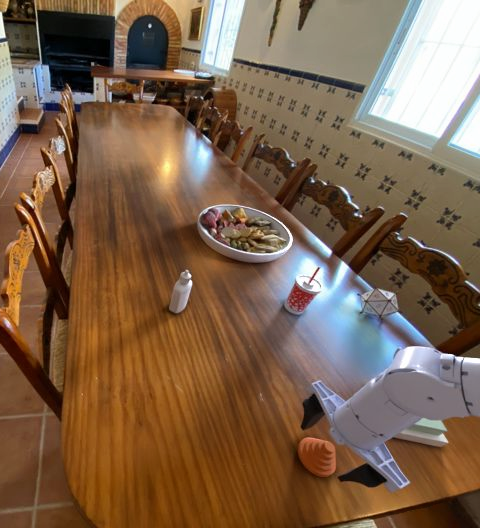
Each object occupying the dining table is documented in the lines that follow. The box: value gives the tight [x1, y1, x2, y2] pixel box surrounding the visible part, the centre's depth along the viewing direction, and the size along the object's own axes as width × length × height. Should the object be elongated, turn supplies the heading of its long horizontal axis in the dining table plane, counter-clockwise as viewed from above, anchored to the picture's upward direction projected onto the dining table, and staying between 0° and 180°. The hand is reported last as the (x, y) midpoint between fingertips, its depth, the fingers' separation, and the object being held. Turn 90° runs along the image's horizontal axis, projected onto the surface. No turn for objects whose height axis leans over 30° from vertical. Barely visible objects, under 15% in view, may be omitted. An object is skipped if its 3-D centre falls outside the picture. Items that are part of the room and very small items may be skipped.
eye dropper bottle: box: [168, 269, 193, 314], centre depth 71 cm, size 4×6×12 cm
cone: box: [297, 437, 337, 478], centre depth 49 cm, size 6×6×5 cm
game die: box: [356, 284, 404, 322], centre depth 75 cm, size 9×8×10 cm
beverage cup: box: [283, 266, 324, 315], centre depth 73 cm, size 6×6×14 cm
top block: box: [407, 418, 448, 435], centre depth 55 cm, size 7×7×2 cm
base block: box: [393, 429, 449, 448], centre depth 56 cm, size 9×9×2 cm
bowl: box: [196, 204, 293, 264], centre depth 98 cm, size 30×30×8 cm
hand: (323, 450), depth 48 cm, fingers open, 7 cm apart
